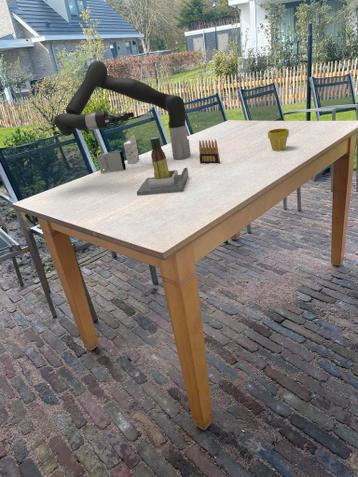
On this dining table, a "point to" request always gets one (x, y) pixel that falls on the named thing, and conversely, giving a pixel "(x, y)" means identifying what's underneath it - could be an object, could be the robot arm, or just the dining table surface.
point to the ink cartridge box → (131, 150)
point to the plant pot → (278, 138)
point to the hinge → (111, 161)
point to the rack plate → (164, 183)
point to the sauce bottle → (159, 159)
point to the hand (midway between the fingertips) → (131, 116)
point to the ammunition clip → (208, 152)
